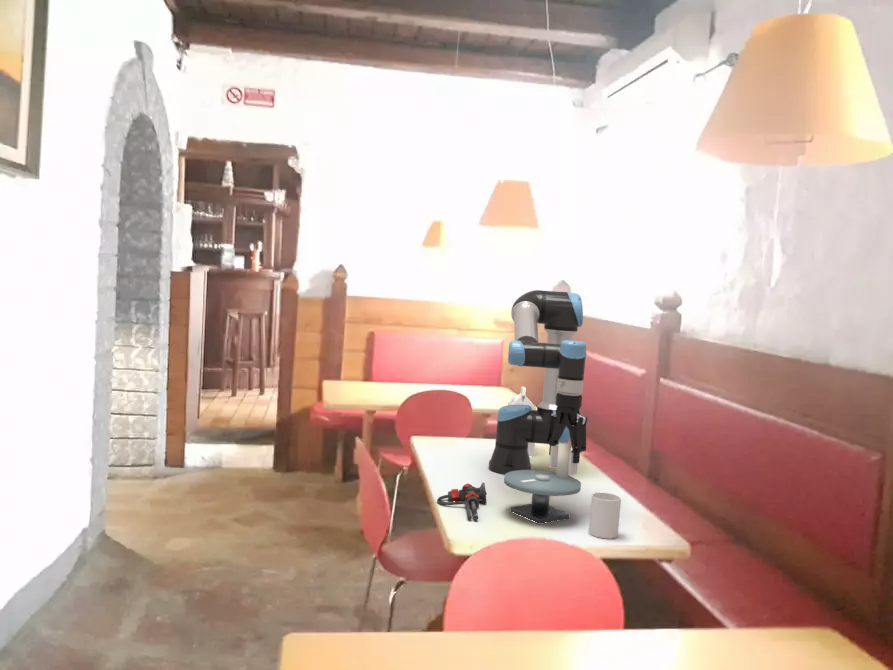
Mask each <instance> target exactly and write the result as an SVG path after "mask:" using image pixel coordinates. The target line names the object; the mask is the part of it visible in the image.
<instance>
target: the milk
mask: <svg viewBox="0 0 893 670" xmlns="http://www.w3.org/2000/svg"><path fill="white" fill-rule="evenodd" d="M526 393H527V388H526V386H520V392H519V394H514V396H513V397H511V399H510V401H509V402H508V403H507V405H519V404H521V405H529V406H531V408H532V410H537V408H536V406H535V405H534V403H533V402H532V401H531V400H530V398H529V397H527V395H526ZM535 446H536V443H528V454H529V456H532V457H531V458H535V453H536V451H535V450H536V447H535Z"/></svg>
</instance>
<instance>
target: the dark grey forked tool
mask: <svg viewBox="0 0 893 670" xmlns="http://www.w3.org/2000/svg"><path fill="white" fill-rule="evenodd" d="M444 499H447V501H443V500H444ZM436 501H437V503H438V504H439V505H441V506H457V505H465V506H466V507H465V508H466V513H467V517H468V520H472V519H473V520H475V521H477V520H478V519H479V514H478V509H477V507H480V501H481V502H482V503H483V504H484V503H486V504H487V491H486V484H485V482H481V484H480V487H475V486H473V485H472V484H470V483H465V484H464V485H462V488H461V489H459V488H452V489H451V490H449V491H447V494H445V495H442V496H439V497H438V498H437V499H436ZM452 501H455V502H452ZM471 511H472V512H471Z"/></svg>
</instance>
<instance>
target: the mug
mask: <svg viewBox="0 0 893 670" xmlns="http://www.w3.org/2000/svg"><path fill="white" fill-rule="evenodd" d="M621 502H622V497H620V496H619V495H617V494H614V493H609V492H600V491H595V492H594V493H591V500H590V509H589V510H590V512H589V521H588V533H589V534H590V535H591V536H593V537H596V538H600V539H608V540H609V539H610V540H611V539H617V538H618V535H619V526H620V516H621V504H622V503H621Z"/></svg>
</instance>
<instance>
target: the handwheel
mask: <svg viewBox="0 0 893 670" xmlns="http://www.w3.org/2000/svg"><path fill="white" fill-rule="evenodd" d="M558 446H559V448H558V459H557V467H556V471H555V472H554V471H547V470H539V469H538V470H537V469H531V470H516V471H511V472H508V473H506V474H503V475H504V476H503V477H504V478H503V483H504V484H505V485H506V486H507V487H509V488H510V489H513V490H515V491H519V492H523V493H526V494H537V495H547V496H550V497H564V496H572V495H576V494H578V493H580V492H581V489H582V488H581V487H582V483H581V481H580V480H579V479H578V478H576V477H573V476H570V474H568V471H569V459H570V452H571V451H572V445H571V442H568V443H566V442H560V443H559V445H558Z"/></svg>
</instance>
